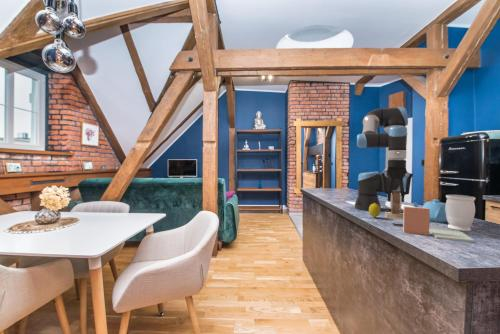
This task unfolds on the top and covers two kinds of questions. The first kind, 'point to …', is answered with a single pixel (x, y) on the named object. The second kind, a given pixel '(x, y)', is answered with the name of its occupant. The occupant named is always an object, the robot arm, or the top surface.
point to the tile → (416, 220)
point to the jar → (460, 212)
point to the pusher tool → (395, 207)
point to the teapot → (435, 211)
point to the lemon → (374, 210)
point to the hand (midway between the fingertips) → (395, 208)
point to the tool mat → (450, 234)
